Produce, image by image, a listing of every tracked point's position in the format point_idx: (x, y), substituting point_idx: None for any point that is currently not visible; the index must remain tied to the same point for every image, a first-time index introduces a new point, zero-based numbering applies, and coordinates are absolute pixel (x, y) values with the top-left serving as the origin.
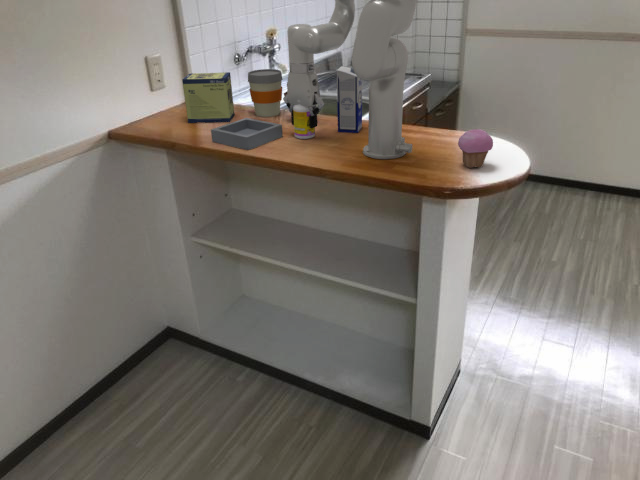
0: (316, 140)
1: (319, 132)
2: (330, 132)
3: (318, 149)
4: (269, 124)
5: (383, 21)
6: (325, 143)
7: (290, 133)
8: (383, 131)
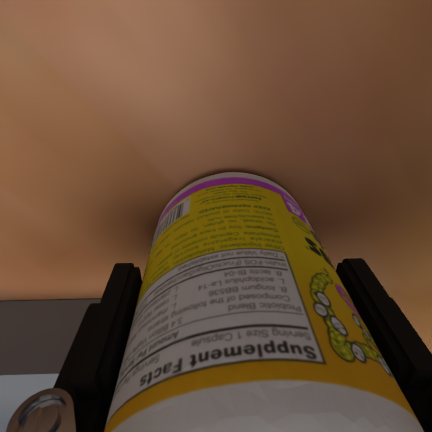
0: (347, 251)
1: (269, 90)
2: (370, 26)
3: (419, 336)
4: (3, 390)
5: None
6: (426, 264)
7: (90, 232)
8: None
